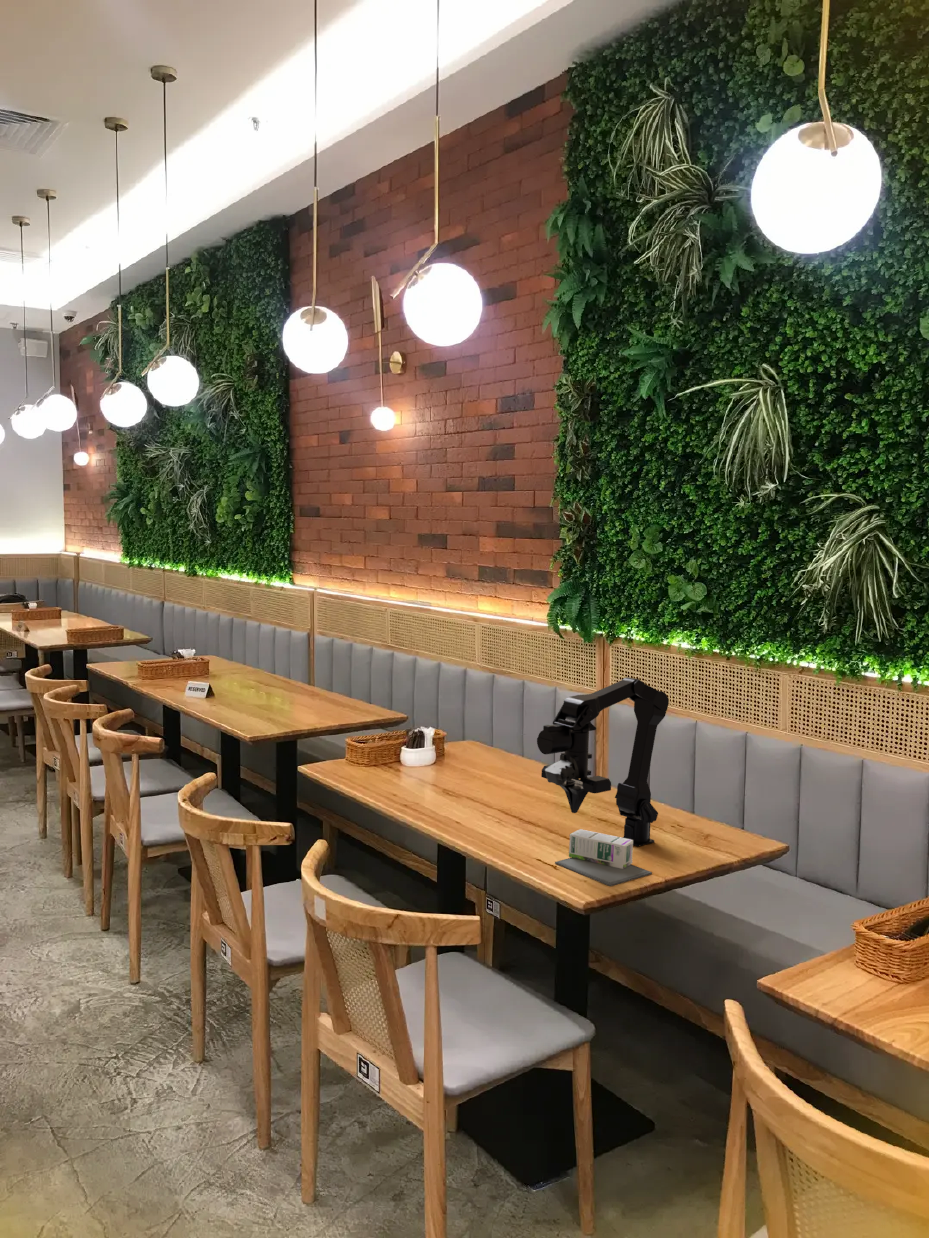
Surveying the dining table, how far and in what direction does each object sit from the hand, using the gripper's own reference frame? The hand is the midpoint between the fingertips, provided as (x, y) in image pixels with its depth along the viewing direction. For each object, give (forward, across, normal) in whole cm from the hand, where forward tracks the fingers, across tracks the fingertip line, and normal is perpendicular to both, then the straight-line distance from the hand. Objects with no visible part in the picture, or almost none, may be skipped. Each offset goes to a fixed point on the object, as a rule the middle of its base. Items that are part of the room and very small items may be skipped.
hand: (574, 812), depth 233 cm
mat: (+11, +10, 0) cm, 15 cm away
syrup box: (+8, -1, +1) cm, 8 cm away
